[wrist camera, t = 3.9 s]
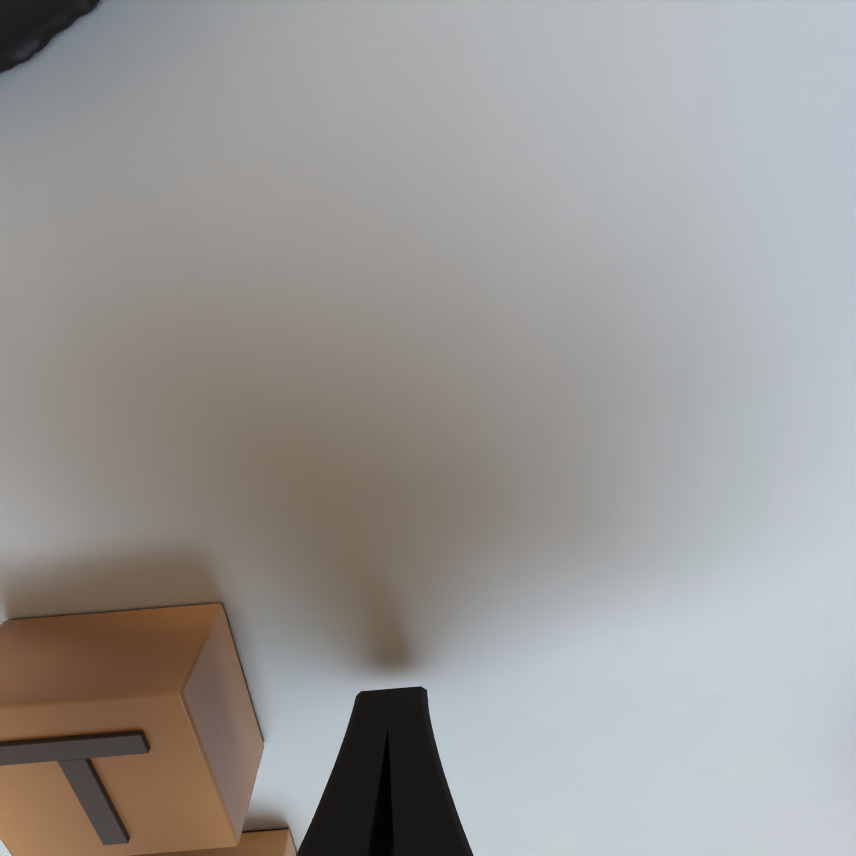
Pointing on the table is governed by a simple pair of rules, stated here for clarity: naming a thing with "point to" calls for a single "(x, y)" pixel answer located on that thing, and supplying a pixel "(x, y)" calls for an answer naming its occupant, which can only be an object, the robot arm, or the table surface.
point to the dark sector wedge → (34, 26)
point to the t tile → (124, 733)
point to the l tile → (247, 846)
